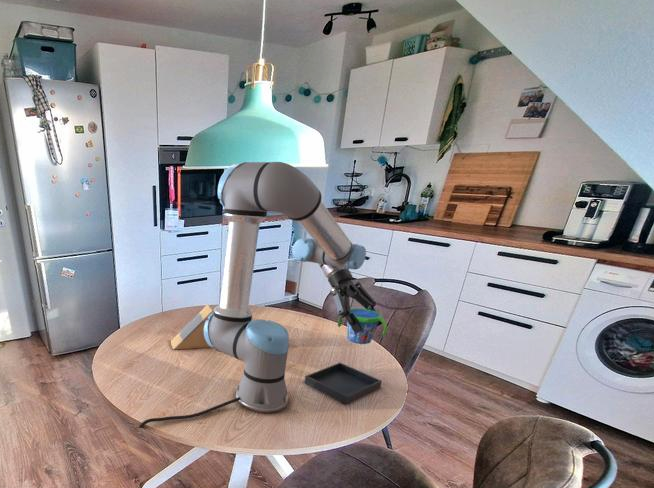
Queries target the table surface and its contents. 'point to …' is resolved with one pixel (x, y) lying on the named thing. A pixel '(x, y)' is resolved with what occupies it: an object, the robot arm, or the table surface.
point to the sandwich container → (193, 332)
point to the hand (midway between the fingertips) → (369, 328)
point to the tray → (343, 382)
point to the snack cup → (364, 325)
